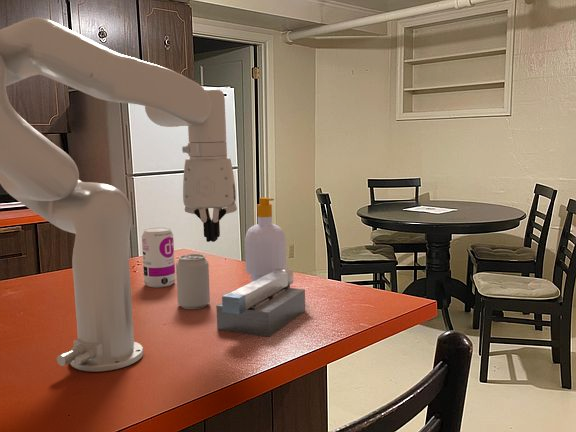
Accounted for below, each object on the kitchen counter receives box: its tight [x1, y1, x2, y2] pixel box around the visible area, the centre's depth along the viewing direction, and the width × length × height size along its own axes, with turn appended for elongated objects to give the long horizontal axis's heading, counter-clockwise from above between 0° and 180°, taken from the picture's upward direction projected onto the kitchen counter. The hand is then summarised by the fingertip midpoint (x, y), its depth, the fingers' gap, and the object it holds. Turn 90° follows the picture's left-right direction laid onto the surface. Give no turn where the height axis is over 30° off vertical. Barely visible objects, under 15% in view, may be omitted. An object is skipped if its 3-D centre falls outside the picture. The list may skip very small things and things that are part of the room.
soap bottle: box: [244, 197, 287, 283], centre depth 141 cm, size 10×10×24 cm
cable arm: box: [221, 267, 294, 314], centre depth 121 cm, size 26×4×3 cm, turn 155°
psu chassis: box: [215, 284, 306, 338], centre depth 123 cm, size 22×12×5 cm, turn 155°
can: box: [175, 253, 211, 310], centre depth 132 cm, size 8×8×12 cm
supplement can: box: [141, 227, 176, 289], centre depth 152 cm, size 8×8×15 cm
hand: (212, 240), depth 116 cm, fingers closed
